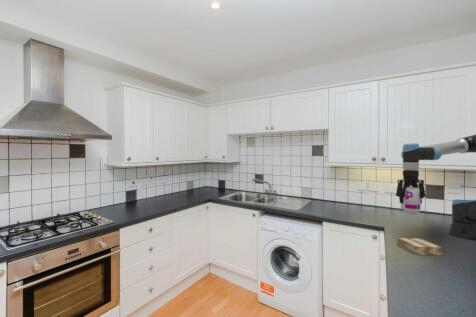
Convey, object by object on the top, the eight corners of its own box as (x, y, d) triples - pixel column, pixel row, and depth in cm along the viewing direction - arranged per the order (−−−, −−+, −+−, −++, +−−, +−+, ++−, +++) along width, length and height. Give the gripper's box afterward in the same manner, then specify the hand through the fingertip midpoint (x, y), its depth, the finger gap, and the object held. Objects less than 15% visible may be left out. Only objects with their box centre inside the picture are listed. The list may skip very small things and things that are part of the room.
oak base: (421, 245, 126) (421, 238, 126) (441, 255, 113) (441, 247, 113) (397, 245, 126) (397, 237, 126) (415, 254, 113) (415, 246, 113)
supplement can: (412, 214, 129) (412, 188, 129) (398, 211, 137) (398, 186, 137) (423, 214, 131) (423, 187, 131) (409, 211, 139) (409, 186, 139)
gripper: (423, 170, 138) (423, 208, 138) (388, 169, 138) (388, 207, 138) (434, 170, 130) (434, 210, 130) (397, 169, 131) (396, 210, 130)
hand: (410, 208), depth 134 cm, fingers closed on supplement can, 8 cm apart
